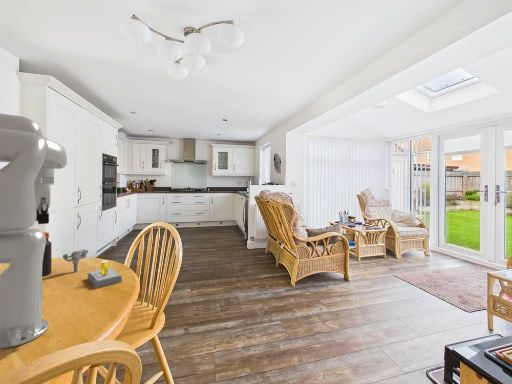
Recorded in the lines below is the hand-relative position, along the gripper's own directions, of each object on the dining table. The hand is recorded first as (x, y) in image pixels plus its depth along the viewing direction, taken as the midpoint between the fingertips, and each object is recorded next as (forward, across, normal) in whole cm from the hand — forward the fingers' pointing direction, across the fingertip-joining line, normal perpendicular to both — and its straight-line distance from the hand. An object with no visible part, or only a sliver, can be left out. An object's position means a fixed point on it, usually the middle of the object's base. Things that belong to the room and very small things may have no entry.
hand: (41, 222), depth 98 cm
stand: (+28, +7, +21) cm, 36 cm away
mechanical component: (+28, -14, +14) cm, 35 cm away
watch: (+26, +7, +21) cm, 34 cm away
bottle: (+28, -20, +2) cm, 35 cm away
